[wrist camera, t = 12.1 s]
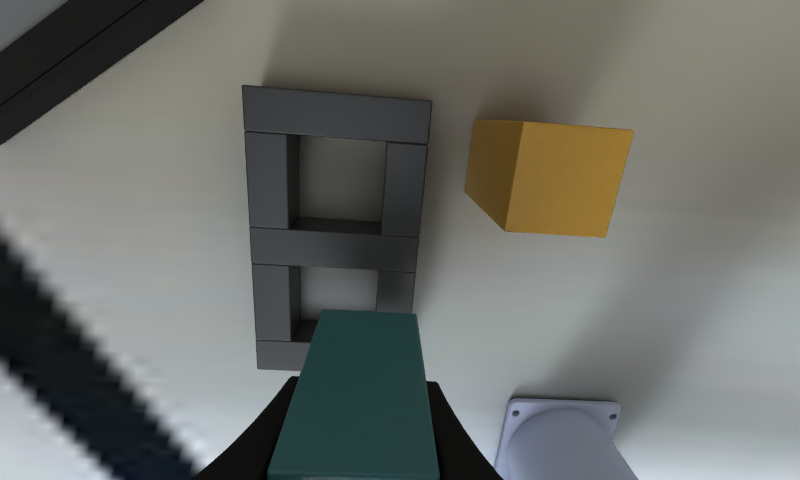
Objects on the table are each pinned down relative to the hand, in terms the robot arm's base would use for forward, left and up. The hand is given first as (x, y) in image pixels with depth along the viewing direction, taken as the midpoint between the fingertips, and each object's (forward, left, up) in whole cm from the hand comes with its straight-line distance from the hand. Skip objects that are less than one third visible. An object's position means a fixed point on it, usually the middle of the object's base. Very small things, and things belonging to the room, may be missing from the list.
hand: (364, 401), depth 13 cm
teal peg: (0, 0, -3) cm, 3 cm away
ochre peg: (+8, -7, -10) cm, 14 cm away
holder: (+3, +2, -10) cm, 11 cm away
